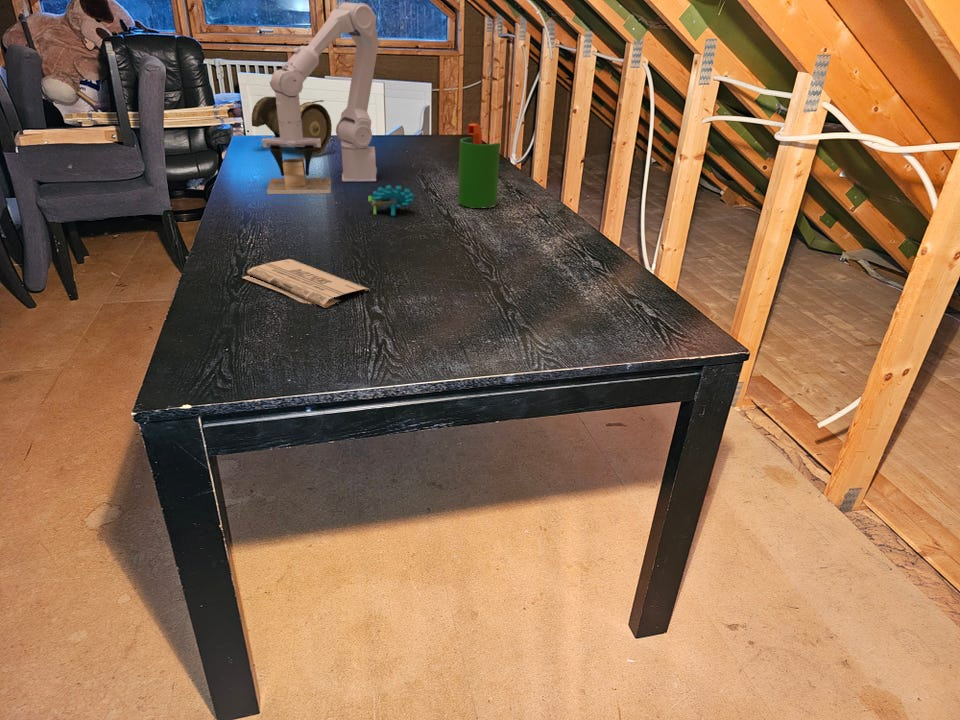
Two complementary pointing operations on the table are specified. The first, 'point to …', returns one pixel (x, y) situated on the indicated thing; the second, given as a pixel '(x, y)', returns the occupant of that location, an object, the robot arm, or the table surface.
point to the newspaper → (302, 282)
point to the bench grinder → (312, 120)
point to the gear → (390, 198)
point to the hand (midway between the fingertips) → (295, 174)
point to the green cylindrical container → (478, 170)
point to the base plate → (310, 187)
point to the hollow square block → (294, 172)
